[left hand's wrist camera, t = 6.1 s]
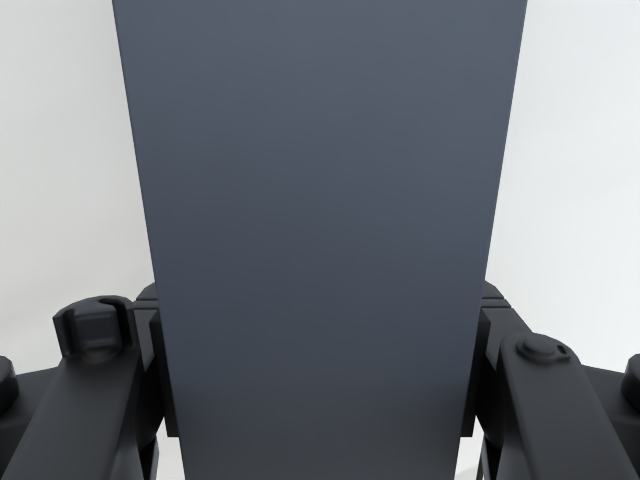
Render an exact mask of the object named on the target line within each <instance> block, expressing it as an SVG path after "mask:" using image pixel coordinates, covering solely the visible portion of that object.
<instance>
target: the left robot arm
mask: <svg viewBox="0 0 640 480" xmlns="http://www.w3.org/2000/svg"><path fill="white" fill-rule="evenodd" d="M53 322H54V326H55V330H56V334H57V338H58V342H59V345H60V349H61V353H62V359H61V361H60V363H59V365H58V367H54V368H50V369H45V370H40V371H35V372H30V373H25V374H19V375H15V371H14V368H13V365H12V362H11V361H10V360H9V359H8V358H6V357H5V356H0V480H156V474H157V466H158V458H159V449H158V443H157V437H156V433H157V431H158V429H159V426H160V424H161V422H162V420H163V417H164V419H165V425H166V431H167V437H179V435H178V429H177V422H176V416H175V409H174V402H173V396H172V389H171V383H170V376H169V370H168V363H167V357H166V350H165V344H164V337H163V331H162V324H161V318H160V311H159V305H158V298H157V292H156V285H155V282H154V283H152V284H151V285H149V286H147V287H146V288H144V290H143V291H142V292H141V293H140V294H139V296H138V297H137V298H136V301H134V302H132V301H130V300H129V299H127V298H126V297H121V296H116V295H109V296H97V297H92V298H87V299H84V300H81V301H78V302H75V303H72V304H70V305H68V306H67V307H65V308H63V309H61V310H60V311H59V312H58V313H57V314H56V315H55V316H54V317H53ZM476 416H477V418H478V420H479V423H480V425H481V427H482V429H483V431H484V437H483V443H482V448H481V454H480V459H479V465H478V471H477V477H476V480H482V479H483V474H484V480H640V354H635V355H634V356H633V357H631V358H630V359H629V360H628V364H627V367H626V370H625V373H620V372H615V371H610V370H605V369H599V368H594V367H589V366H585V365H581V363H580V361H579V359H578V357H577V356H576V354H575V353H574V352H573V351H572V350H571V348H569V347H568V346H566V345H565V344H563V343H562V342H560V341H558V340H556V339H553V338H551V337H548V336H546V335H542V334H537V333H533V332H532V331H531V330H530V328H529V327H528V326H527V325H526V324H525V322H524V321H523V320H522V319H521V317H520V316H519V315H518V314H517V313H516V311H515V310H514V309H513V308H511V305H510V304H509V303H508V302H507V300H506V299H504V297H503V295H502V294H501V293H500V292H499V291H498V289H497V288H496V287H495V286H493V285H492V284H490V283H488V282H487V281H484V287H483V294H482V300H481V307H480V313H479V320H478V326H477V333H476V339H475V346H474V352H473V359H472V365H471V372H470V378H469V385H468V392H467V398H466V405H465V411H464V418H463V424H462V431H461V437H472V435H473V429H474V423H475V417H476Z"/></svg>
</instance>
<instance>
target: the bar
mask: <svg viewBox="0 0 640 480" xmlns="http://www.w3.org/2000/svg"><path fill="white" fill-rule="evenodd" d="M112 4H113V11H114V17H115V24H116V31H117V37H118V44H119V50H120V57H121V63H122V70H123V76H124V83H125V89H126V96H127V102H128V109H129V115H130V122H131V128H132V135H133V141H134V148H135V155H136V161H137V168H138V174H139V181H140V187H141V194H142V200H143V207H144V213H145V220H146V226H147V233H148V239H149V246H150V252H151V259H152V265H153V272H154V278H155V285H156V292H157V298H158V305H159V311H160V318H161V324H162V331H163V337H164V344H165V350H166V357H167V363H168V370H169V376H170V383H171V389H172V396H173V402H174V409H175V416H176V422H177V429H178V435H179V442H180V448H181V455H182V461H183V468H184V474H185V480H454V476H455V470H456V463H457V457H458V450H459V444H460V437H461V431H462V424H463V418H464V411H465V405H466V398H467V392H468V385H469V378H470V372H471V365H472V359H473V352H474V346H475V339H476V333H477V326H478V320H479V313H480V307H481V300H482V294H483V287H484V281H485V274H486V267H487V261H488V254H489V248H490V241H491V235H492V228H493V222H494V215H495V209H496V202H497V196H498V189H499V183H500V176H501V170H502V163H503V156H504V150H505V143H506V137H507V130H508V124H509V117H510V111H511V104H512V98H513V91H514V85H515V78H516V72H517V65H518V59H519V52H520V45H521V39H522V32H523V26H524V19H525V13H526V6H527V0H112Z"/></svg>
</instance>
